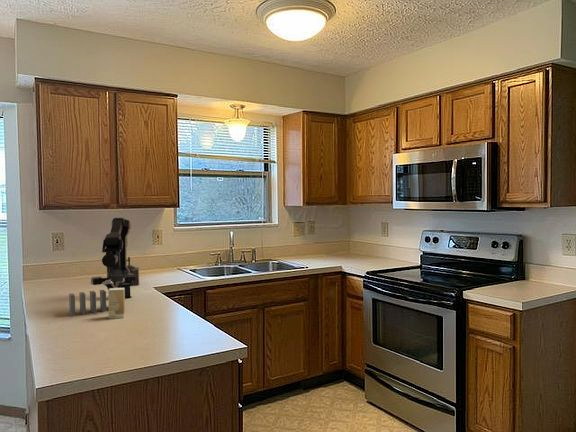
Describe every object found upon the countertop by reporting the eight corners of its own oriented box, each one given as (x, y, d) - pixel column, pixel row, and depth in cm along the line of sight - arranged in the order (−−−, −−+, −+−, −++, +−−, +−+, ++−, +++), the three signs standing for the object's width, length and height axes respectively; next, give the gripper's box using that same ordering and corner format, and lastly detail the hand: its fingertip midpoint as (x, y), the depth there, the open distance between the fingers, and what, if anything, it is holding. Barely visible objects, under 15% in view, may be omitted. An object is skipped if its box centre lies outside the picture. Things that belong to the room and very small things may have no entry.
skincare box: (108, 319, 187) (107, 290, 186) (109, 316, 191) (108, 288, 190) (124, 317, 188) (123, 289, 188) (125, 315, 193) (124, 287, 192)
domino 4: (104, 309, 204) (103, 289, 204) (106, 311, 200) (105, 291, 200) (100, 309, 203) (99, 290, 203) (102, 311, 199) (102, 291, 199)
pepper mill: (139, 282, 270) (139, 252, 270) (138, 285, 260) (137, 255, 259) (112, 283, 266) (111, 254, 266) (110, 287, 256) (109, 256, 255)
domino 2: (83, 311, 199) (83, 292, 199) (85, 314, 195) (85, 293, 195) (80, 312, 198) (79, 292, 198) (82, 314, 194) (81, 294, 194)
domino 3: (94, 310, 202) (93, 290, 201) (96, 312, 198) (95, 292, 197) (90, 311, 201) (89, 291, 200) (92, 313, 197) (91, 293, 196)
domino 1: (73, 313, 197) (72, 293, 197) (75, 315, 193) (74, 295, 192) (69, 314, 196) (68, 293, 196) (71, 316, 192) (70, 295, 192)
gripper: (95, 267, 192) (96, 303, 192) (139, 263, 202) (140, 297, 203) (90, 264, 201) (91, 299, 202) (132, 261, 211) (133, 293, 212)
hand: (114, 297), depth 204 cm, fingers closed
